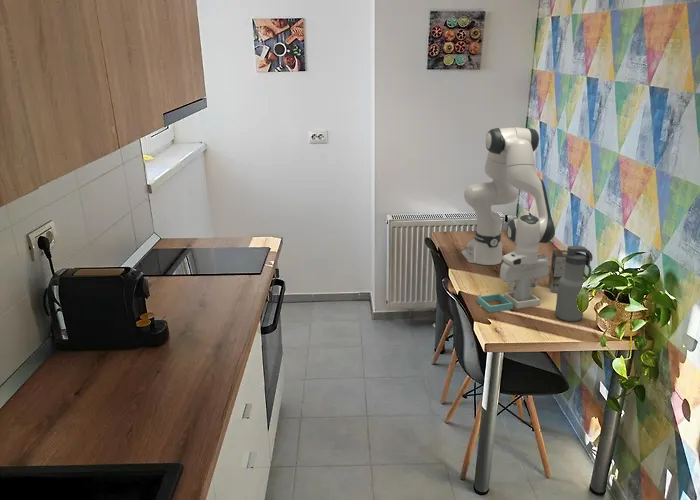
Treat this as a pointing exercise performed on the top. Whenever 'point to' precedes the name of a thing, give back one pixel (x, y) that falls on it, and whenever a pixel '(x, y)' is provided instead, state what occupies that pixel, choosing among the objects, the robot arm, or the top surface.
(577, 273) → the water bottle
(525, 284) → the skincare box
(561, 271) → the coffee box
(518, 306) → the shallow square trays
